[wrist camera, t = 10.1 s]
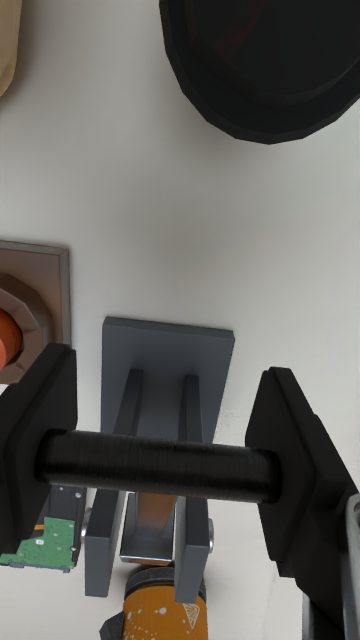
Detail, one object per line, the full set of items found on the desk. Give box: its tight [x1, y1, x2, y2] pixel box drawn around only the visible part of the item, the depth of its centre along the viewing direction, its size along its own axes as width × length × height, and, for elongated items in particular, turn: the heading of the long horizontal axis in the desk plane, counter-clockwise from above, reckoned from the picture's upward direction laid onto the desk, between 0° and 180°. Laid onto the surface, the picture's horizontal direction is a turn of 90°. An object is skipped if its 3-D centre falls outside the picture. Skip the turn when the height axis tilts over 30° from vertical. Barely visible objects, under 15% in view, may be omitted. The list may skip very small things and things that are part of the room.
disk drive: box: [0, 484, 87, 573], centre depth 30 cm, size 10×3×15 cm
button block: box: [0, 241, 71, 385], centre depth 21 cm, size 10×8×4 cm
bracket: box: [80, 317, 235, 604], centre depth 19 cm, size 11×9×13 cm
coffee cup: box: [159, 0, 360, 145], centre depth 12 cm, size 7×7×10 cm
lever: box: [35, 428, 282, 566], centre depth 12 cm, size 12×6×2 cm, turn 173°
